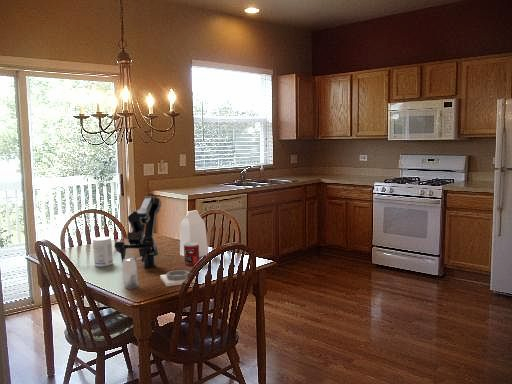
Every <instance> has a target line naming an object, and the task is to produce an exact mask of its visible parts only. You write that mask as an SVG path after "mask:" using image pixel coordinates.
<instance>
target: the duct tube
mask: <svg viewBox="0 0 512 384" xmlns="http://www.w3.org/2000/svg"><path fill="white" fill-rule="evenodd" d="M137 265H138V263H137V258H136V257H128V258H126V257H125V259H124V260H123V263H122V266H123V267H122V268H123V284H124V289H126V290H133V289H136V288H138V287H139V285H138V284H139V283H138V266H137Z"/></svg>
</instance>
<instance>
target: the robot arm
mask: <svg viewBox="0 0 512 384" xmlns="http://www.w3.org/2000/svg"><path fill="white" fill-rule="evenodd" d="M161 207H162V200H161V199H160V198H158V197H155V196H154V195H153V196H152V195H145V196H143V201H142V203H141V206H140V208H139V209H137V210H135V211H132V213H130V214H129V215H128V217H127V220H128V223H129V225H130V228H131V229H132V231H128V232H127V233H126V234H127V236H126V240H127V241H128V243H125V241H116V242H115V243H114V248H115V250H116V252H118V253H119V254H120V258H121V262H122V264H123V260H124V259H126V253H127V252H126V250H127V249H136V250H137V249H138V251H139V257H141V263H142V267H143V269H151V268H157V264H155V263H156V262H155V257H156V256H159V249H158V246H157V245H156V242H155V239H154V234H155V225H156V217H157V214H159V212H160V210H161Z"/></svg>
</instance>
